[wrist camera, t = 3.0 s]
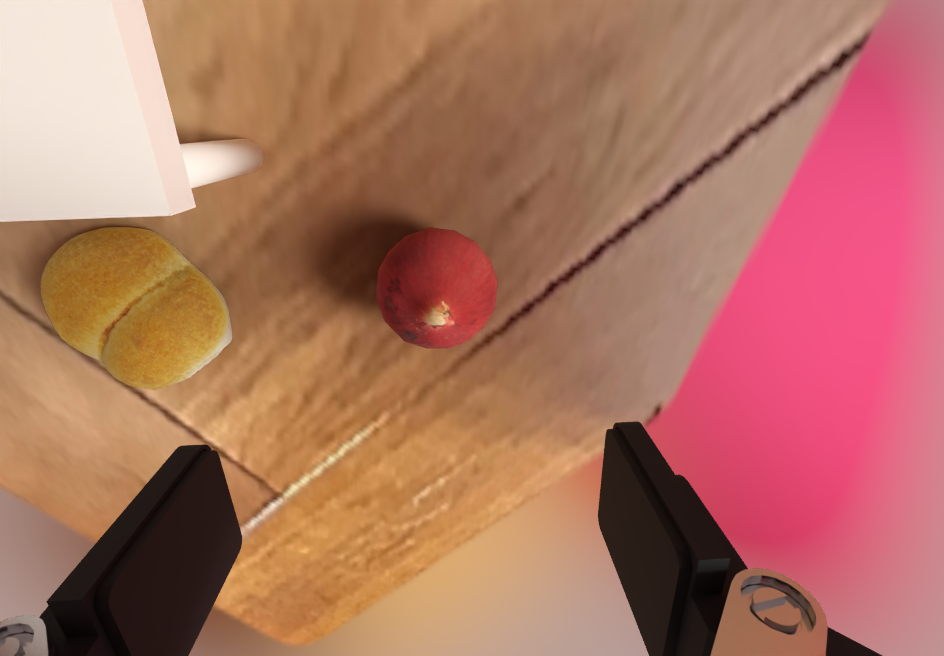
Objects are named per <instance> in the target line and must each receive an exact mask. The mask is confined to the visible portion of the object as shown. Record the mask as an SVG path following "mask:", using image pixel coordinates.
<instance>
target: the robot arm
mask: <svg viewBox="0 0 944 656" xmlns="http://www.w3.org/2000/svg"><path fill="white" fill-rule="evenodd" d="M598 519H599V526H600V529H601V532H602V535H603V537H604V540H605V542H606V545H607V547H608V550H609V553H610V555H611V558H612V561H613V563H614V566H615V568H616V571H617V573H618V576H619V578H620V581H621V584H622V586H623V589H624V592H625V594H626V597H627V599H628V602H629V604H630V607H631V610H632V612H633V615H634V617H635V620H636V622H637V625H638V628H639V630H640V633H641V635H642V638H643V641H644V643H645V646H646V648H647V651H648V654H649V656H882V655H880V654H878V653H876V652H874V651H872V650H871V649H869V648H867V647H865V646H863V645H861V644H859V643H857V642H855V641H853V640H852V639H850V638H848V637H846V636H844V635H842V634H840V633H838V632H836V631H834V630H833V629H831V628H829V627H828V626H827V619H826V615H825V613H824V611H823V609H822V607H821V605H820V604H819V602H818V601H817V600H816V599H815V598H814V597H813V596H812V594H811V593H810V592H809V591H807V590H806V589H805V588H803V587H802V586H801V585H800V584H798V583H797V582H796V581H794V580H792V579H790V578H788V577H786V576H784V575H783V574H780V573H777V572H774V571H771V570H767V569H759V568H752V569H748V568H747V566H746V565H745V564H744V562H743V561H742V559H741V558H740V556H739V555H738V554H737V552H736V551H735V549H734V548H733V546H732V545H731V543H730V542H729V540H728V539H727V537H726V536H725V535H724V533H723V532H722V530H721V529H720V527H719V526H718V524H717V523H716V522H715V520H714V519H713V517H712V516H711V514H710V513H709V511H708V510H707V508H706V507H705V506H704V504H703V503H702V501H701V500H700V498H699V497H698V495H697V494H696V492H695V491H694V490H693V488H692V487H691V485H690V484H689V482H688V481H687V480H686V479H685V478H684V477H683V476H681V475H675V474H674V472H673V471H672V470H671V468H670V466H669V465H668V463H667V462H666V460H665V459H664V457H663V456H662V454H661V453H660V451H659V450H658V448H657V447H656V445H655V444H654V442H653V441H652V439H651V438H650V436H649V435H648V433H647V432H646V430H645V429H644V427H643V426H642V424H641V423H640V422H621V423H615V424H614V426H613V429H608V430H607V431H606V438H605V448H604V458H603V468H602V479H601V489H600V499H599V510H598ZM241 545H242V534H241V530H240V527H239V524H238V520H237V517H236V513H235V510H234V506H233V503H232V499H231V496H230V492H229V489H228V485H227V482H226V478H225V475H224V472H223V468H222V465H221V461H220V458H219V455H218V453H217V451H215V450H211V448H210V447H209V446H208V445H187V446H180V447H178V448H177V449H176V450H175V451H174V452H173V454H172V455H171V456H170V457H169V458H168V459H167V461H166V462H165V463H164V464H163V465H162V466H161V468H160V469H159V470H158V471H157V472H156V474H155V475H154V476H153V477H152V478H151V479H150V481H149V482H148V483H147V484H146V485H145V486H144V488H143V489H142V490H141V491H140V492H139V494H138V495H137V496H136V497H135V498H134V499H133V501H132V502H131V503H130V504H129V505H128V506H127V508H126V509H125V510H124V511H123V512H122V514H121V515H120V516H119V517H118V518H117V519H116V521H115V522H114V523H113V524H112V525H111V526H110V528H109V529H108V530H107V531H106V532H105V533H104V535H103V536H102V537H101V538H100V539H99V541H98V542H97V543H96V544H95V545H94V546H93V548H92V549H91V550H90V551H89V552H88V554H87V555H86V556H85V557H84V558H83V559H82V561H81V562H80V563H79V564H78V565H77V566H76V568H75V569H74V570H73V571H72V572H71V574H70V575H69V576H68V577H67V578H66V579H65V581H64V582H63V583H62V584H61V585H60V587H59V588H58V589H57V590H56V591H55V592H54V593H53V595H52V596H51V597H50V598H49V599H48V601H47V603H48V605H49V606H48V607H47V608H46V610H45V611H44V612H43V613H42V614H41V616H40V617H39V618H38V617H36V616H26V615H25V616H24V615H22V616H18V617H13V618H9V619H6V620H3V621H1V622H0V656H188V655H189V653H190V651H191V649H192V647H193V645H194V643H195V641H196V639H197V637H198V635H199V633H200V631H201V629H202V627H203V624H204V622H205V621H206V619H207V617H208V615H209V613H210V611H211V609H212V607H213V605H214V603H215V601H216V598H217V596H218V594H219V592H220V590H221V588H222V586H223V584H224V582H225V580H226V578H227V576H228V574H229V572H230V570H231V568H232V566H233V564H234V562H235V560H236V558H237V556H238V554H239V552H240V549H241Z"/></svg>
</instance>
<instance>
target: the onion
mask: <svg viewBox="0 0 944 656" xmlns="http://www.w3.org/2000/svg"><path fill="white" fill-rule="evenodd" d="M496 293H497V279H496V276H495V273H494V270H493V267H492V264H491V261H490V260H489V258H488V257H487V256H486V255H485V253H484V252H483V251H482V250H481V249H480V248H479V246H478V245H477V244H476V243H475V242H474V241H473V240H471V239H469V238H467V237H465V236H463V235H462V234H460V233H458V232H456V231H454V230H445V229H437V228H427V229H424V230H421V231H418V232H415V233H412V234H409V235H406V236H405V237H404V238H403V239H402V240H401V241H399V242H398V243H397V244H396V245H395V246H394V247H393V248H392V249H390V250H389V252H388V253H387V255H386V257H385V259H384V261H383V262H382V264H381V266H380V268H379V269H378V281H377V294H376V299H377V301H378V304H379V307H380V309H381V312H382V315H383V318H384V320H385V322H386V323H387V324H388V325H389V326H390V327H391V328H392V329H393V330H394V331H395V332H396V333H397V334H398V335H399V336H400V337H401V338H402V339H403V340H404V341H406V342H409V343H412V344H415V345H418V346H421V347H424V348H450V347H453V346H456V345H459V344H461V343H464V342H467V341H468V340H469V339H471V338H472V337H473V336H474V335H475V334H476V333H478V332H479V331H480V330H481V329H482V328H483V326H484V325H485V323H486V321H487V320H488V318H489V317H490V315H491V314H492V312H493V310H494V309H495V304H496Z"/></svg>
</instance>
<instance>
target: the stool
mask: <svg viewBox="0 0 944 656" xmlns="http://www.w3.org/2000/svg"><path fill="white" fill-rule="evenodd" d="M263 163H264V154H263V151H262V149H261V147H260V146H259V145H258V144H257V143H256V142H255V141H253V140H251V139H247V138H242V139H230V140H219V141H207V142H196V143H185V144H179V140H178V136H177V132H176V128H175V125H174V121H173V117H172V113H171V109H170V105H169V102H168V98H167V94H166V90H165V86H164V82H163V78H162V75H161V71H160V67H159V63H158V59H157V55H156V51H155V48H154V44H153V40H152V36H151V32H150V28H149V25H148V21H147V17H146V13H145V9H144V5H143V1H142V0H0V222H7V221H36V220H64V219H92V218H121V217H149V216H172V215H175V214H178V213H181V212H184V211H186V210H189V209H192V208H195V207H196V205H195V202H194V198H193V194H192V190H191V188H194V187H198V186H202V185H206V184H210V183H213V182H217V181H221V180H225V179H229V178H232V177H236V176H240V175H244V174H248V173H251V172H255V171H257V170H259V169H260V168H261V167H262V165H263Z"/></svg>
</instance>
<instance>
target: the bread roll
mask: <svg viewBox="0 0 944 656" xmlns="http://www.w3.org/2000/svg"><path fill="white" fill-rule="evenodd" d="M41 298H42V301H43V305H44V308H45V311H46V313H47V315H48V317H49V319H50V321H51V323H52V325H53V327H54V328H55V330H56V331H57V333H58V334H59V336H60V337H61V338H62V339H63V340H64V341H65V342H67V343H68V344H69V345H71V346H72V347H74V348H75V349H77V350H78V351H80V352H82V353H84V354H86V355H88V356H91V357H93V358H95V359H96V360H98V361H100V362H102V363H103V364H104V365H105V367H106V368H107V370H108V371H109V372H110V373H111V374H112V375H113V376H114V377H115V378H116V379H117V380H119V381H121V382H124V383H126V384H127V385H129V386H133V387H138V388H145V389H160V388H163V387H167V386H170V385H172V384H175V383H178V382H181V381H184V380H186V379H187V378H190V377H191V376H192V375H193V374H195V373H196V372H197V371H198V370H200V369H201V368H203V367H204V366H205V365H206V364H207V363H209V362H210V361H211V360H212V359H213V358H215V357H216V356H218V354H219V353H220V352H221V351H222V349H223V348H224V347H225V346H227V345H228V344H229V343H230V342H231V340H232V330H231V324H230V317H229V311H228V308H227V305H226V302H225V300H224V298H223V296H222V295H221V293H220V292H219V290H218V289H217V288H216V287H215V286H214V285H213V283H212V282H211V281H210V280H209V278H207V277H206V276H205V275H204V274H203V273H202V272H200V271H199V270H198V269H197V268H196V267H195V266H193V265H192V264H191V263H190V262H189V261H188V260H186V259H185V257H184V256H183V255H182V254H181V253H180V252H179V251H178V250H177V249H176V248H175V247H174V246H173V245H172V244H171V243H170V242H169V241H167V240H166V239H165V238H163V237H162V236H161V235H159V234H157V233H156V232H153V231H151V230H147V229H142V228H133V227H109V228H101V229H97V230H93V231H89V232H86V233H83V234H80V235H78V236H76V237H74V238H72V239H70V240H69V241H68V242H66V243H65V244H64V245H63V246H61V247H60V248H59V249H58V250H57V251H56V252H55V253H54V255H53V256H52V257H51V258H50V260H49V261H48V263H47V265H46V267H45V269H44V272H43V274H42V277H41Z"/></svg>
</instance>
